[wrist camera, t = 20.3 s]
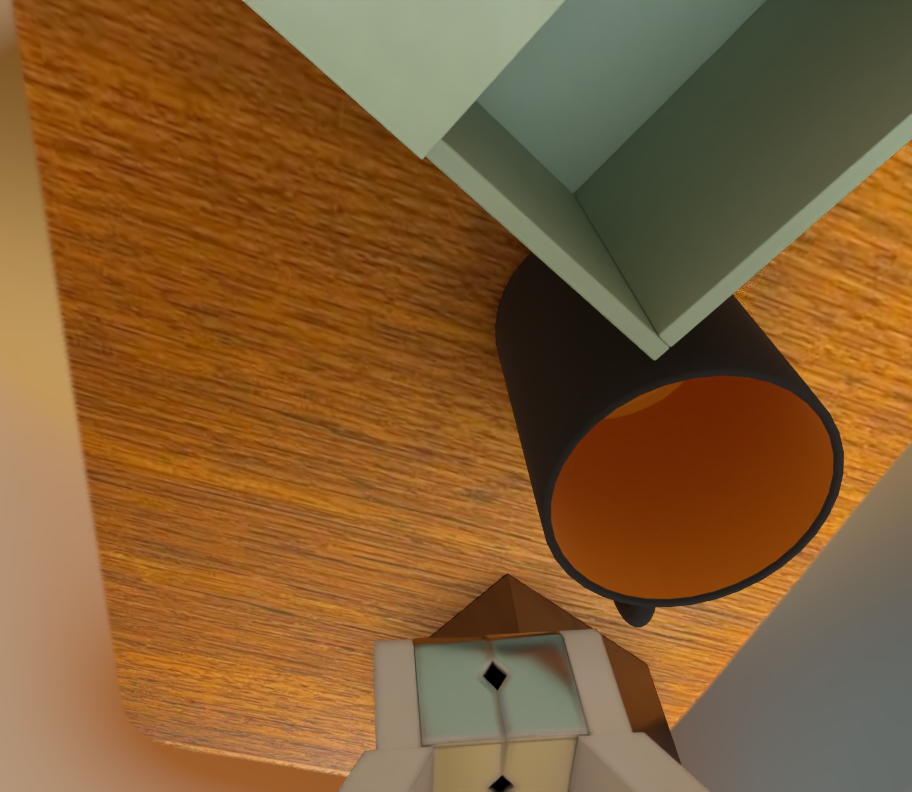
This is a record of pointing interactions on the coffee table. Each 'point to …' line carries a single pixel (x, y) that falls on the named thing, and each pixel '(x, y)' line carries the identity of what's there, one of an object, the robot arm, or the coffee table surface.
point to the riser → (529, 612)
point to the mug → (662, 448)
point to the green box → (682, 142)
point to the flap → (409, 53)
